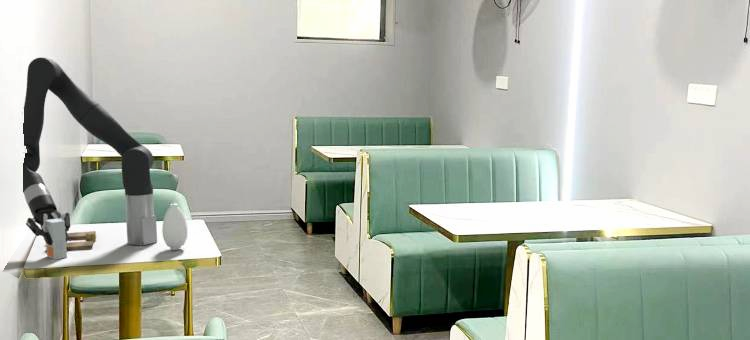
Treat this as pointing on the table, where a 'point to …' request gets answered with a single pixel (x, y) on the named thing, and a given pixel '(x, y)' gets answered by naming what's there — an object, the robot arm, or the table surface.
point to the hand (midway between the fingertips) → (58, 242)
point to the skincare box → (56, 239)
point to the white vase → (174, 227)
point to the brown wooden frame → (81, 245)
